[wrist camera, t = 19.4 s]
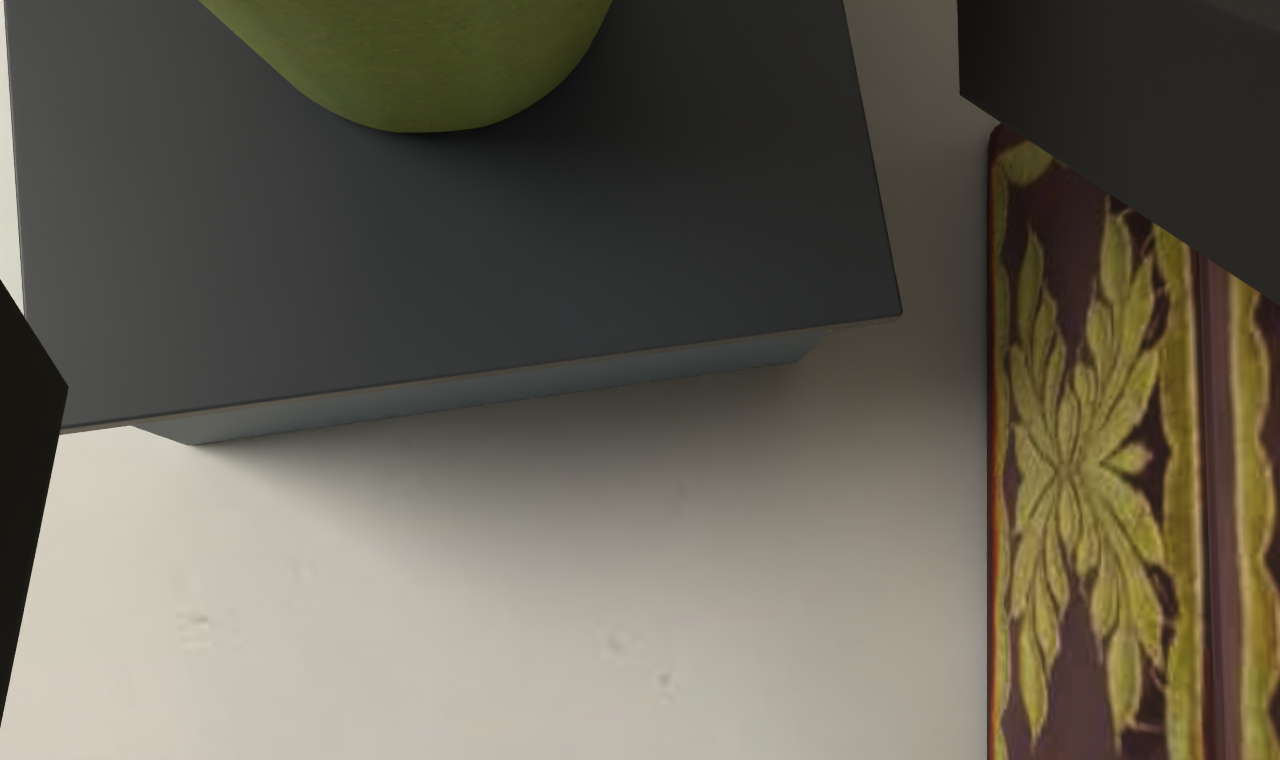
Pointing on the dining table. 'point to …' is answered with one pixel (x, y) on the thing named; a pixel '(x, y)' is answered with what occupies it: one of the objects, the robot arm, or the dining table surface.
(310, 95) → the plant pot
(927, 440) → the dining table surface
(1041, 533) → the decorative box
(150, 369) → the container
